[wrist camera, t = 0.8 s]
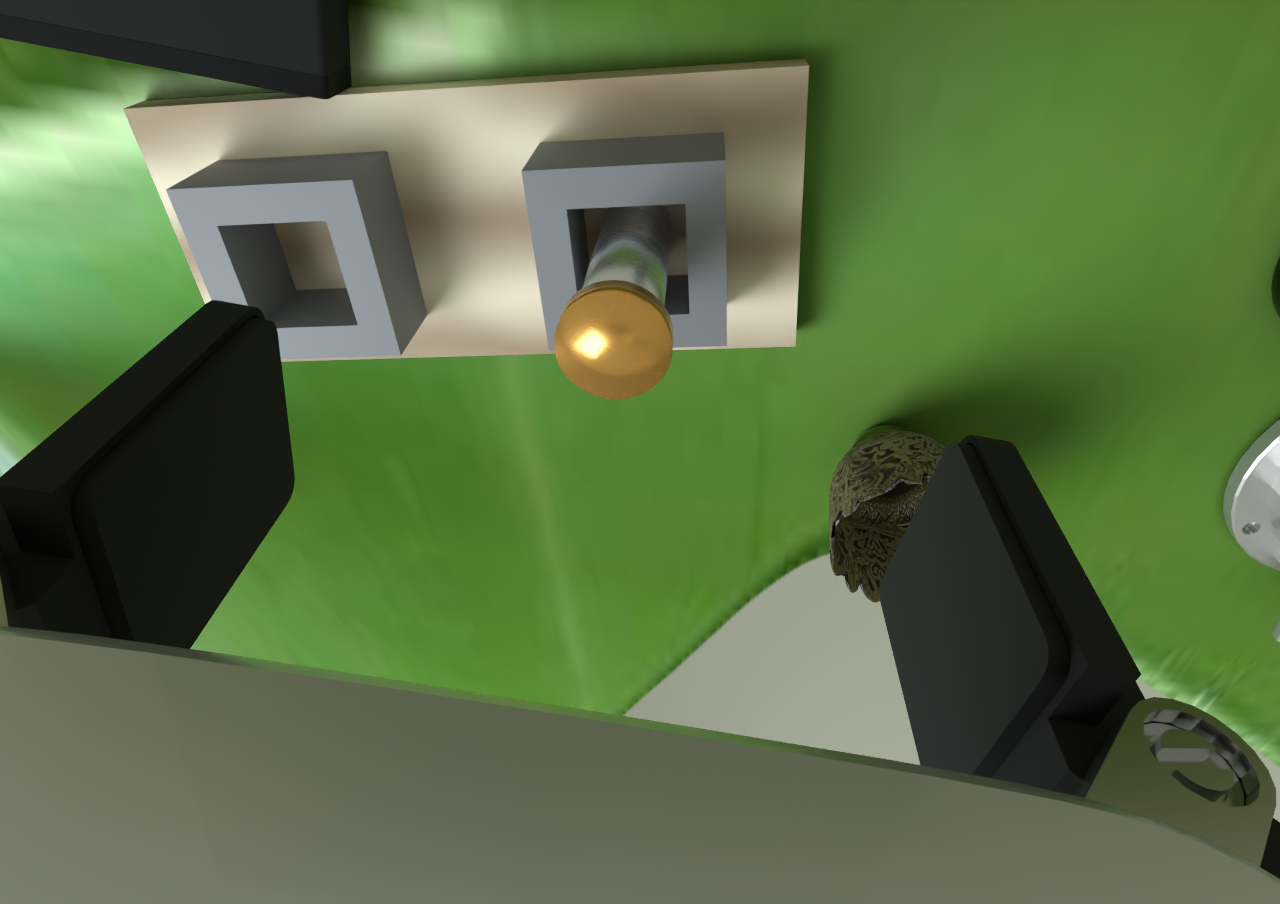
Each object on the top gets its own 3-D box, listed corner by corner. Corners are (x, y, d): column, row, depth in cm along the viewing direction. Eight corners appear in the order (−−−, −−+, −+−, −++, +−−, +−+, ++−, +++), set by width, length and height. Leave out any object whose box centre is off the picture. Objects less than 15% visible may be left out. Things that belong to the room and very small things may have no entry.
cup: (914, 516, 44) (950, 624, 38) (790, 483, 44) (805, 587, 37) (983, 409, 40) (1036, 510, 34) (847, 370, 39) (875, 466, 33)
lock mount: (725, 304, 36) (727, 346, 33) (562, 310, 37) (549, 351, 34) (723, 132, 32) (725, 160, 28) (539, 142, 32) (521, 171, 29)
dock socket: (427, 314, 37) (401, 355, 34) (276, 320, 38) (236, 360, 35) (387, 150, 33) (352, 179, 30) (217, 160, 34) (165, 189, 31)
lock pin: (683, 267, 35) (674, 397, 26) (598, 270, 36) (562, 400, 27) (679, 181, 33) (669, 291, 24) (589, 185, 33) (546, 295, 24)
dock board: (792, 331, 38) (795, 346, 37) (244, 348, 41) (230, 363, 40) (805, 58, 31) (809, 65, 30) (144, 100, 34) (123, 108, 33)
